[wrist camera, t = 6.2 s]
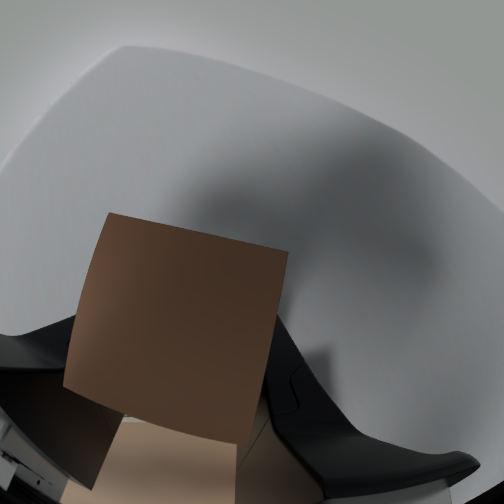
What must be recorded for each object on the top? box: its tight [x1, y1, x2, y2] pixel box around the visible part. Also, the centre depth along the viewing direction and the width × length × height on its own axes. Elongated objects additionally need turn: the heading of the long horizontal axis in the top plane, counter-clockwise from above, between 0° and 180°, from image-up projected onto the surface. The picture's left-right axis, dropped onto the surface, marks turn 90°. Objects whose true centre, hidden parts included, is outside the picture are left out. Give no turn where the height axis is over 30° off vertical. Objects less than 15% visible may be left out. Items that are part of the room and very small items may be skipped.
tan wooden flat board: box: [60, 414, 237, 504], centre depth 11 cm, size 10×22×2 cm, turn 99°
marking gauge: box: [63, 213, 288, 446], centre depth 9 cm, size 3×7×12 cm, turn 78°
